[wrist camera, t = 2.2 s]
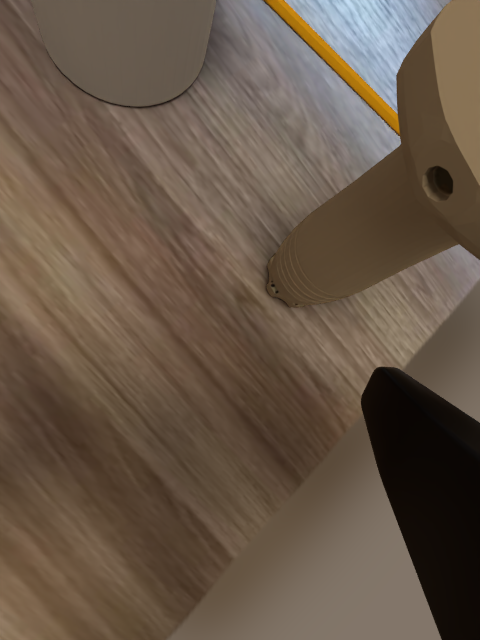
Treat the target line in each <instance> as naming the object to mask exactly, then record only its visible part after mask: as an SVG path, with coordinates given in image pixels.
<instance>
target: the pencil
mask: <svg viewBox="0 0 480 640" xmlns="http://www.w3.org/2000/svg"><path fill="white" fill-rule="evenodd" d="M264 1H265V2H266V3H267V4H268V5H269V6H270V7H271V8H272V9H273V10H274V11H275V12H276V13H277V14H278V15H279V16H280V17H281V18H282V19H283V20H284V21H285V22H286V23H287V24H288V25H289V26H290V27H291V28H292V29H293V30H294V31H295V32H296V33H297V34H298V35H299V36H300V37H301V38H302V39H303V40H304V41H305V42H306V43H307V44H308V45H309V46H310V47H311V48H312V49H313V50H315V51H316V52H317V53H318V54H319V55H320V56H321V57H322V58H323V59H324V60H325V61H326V62H327V63H328V64H329V65H330V66H331V67H332V68H333V69H334V70H335V71H336V72H337V73H338V74H339V75H340V76H341V77H342V78H343V79H344V80H345V81H346V82H347V83H348V84H349V85H350V86H351V87H352V88H353V89H354V90H355V91H356V92H357V93H358V94H359V95H360V96H361V97H362V98H363V99H364V100H365V101H366V102H367V103H368V104H369V105H370V106H371V107H372V108H373V109H374V110H375V111H376V112H377V113H378V114H379V115H380V116H381V117H382V118H383V119H384V120H385V121H386V122H387V123H388V124H389V125H390V126H391V127H392V128H393V129H394V130H395V131H396V132H397V133H398V134H399V135H400V131H399V121H398V114H397V113H396V112H395V111H394V110H393V109H392V108H391V107H390V106H389V105H388V104H387V103H386V102H385V101H384V100H383V99H382V98H381V97H380V96H379V95H378V94H377V93H376V92H375V91H374V90H373V89H372V88H371V87H370V86H369V85H368V84H367V83H366V82H365V81H364V80H363V79H362V78H361V77H360V76H359V75H358V74H357V73H356V72H355V71H354V70H353V69H352V68H351V67H350V66H349V65H348V64H347V63H346V62H345V61H344V60H343V59H342V58H341V57H340V56H339V55H338V54H337V53H336V52H335V51H334V50H333V49H332V48H331V47H330V46H329V45H328V44H327V43H326V42H325V41H324V40H323V39H322V38H321V37H320V36H319V35H318V34H317V33H316V32H315V31H314V30H313V29H312V28H311V27H310V26H309V25H308V24H307V23H306V22H305V21H304V20H303V19H302V18H301V17H300V16H299V15H298V14H297V13H296V12H295V11H294V10H293V9H292V8H291V7H290V6H289V5H288V4H287V3H286V2H285V1H284V0H264Z"/></svg>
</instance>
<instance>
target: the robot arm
mask: <svg viewBox="0 0 480 640" xmlns="http://www.w3.org/2000/svg"><path fill="white" fill-rule="evenodd" d="M361 407H362V411H363V415H364V419H365V422H366V426H367V430H368V433H369V437H370V441H371V445H372V448H373V452H374V456H375V460H376V464H377V467H378V470H379V474H380V477H381V479H382V482H383V485H384V488H385V490H386V493H387V496H388V498H389V501H390V504H391V506H392V509H393V512H394V514H395V517H396V520H397V522H398V525H399V528H400V530H401V533H402V536H403V538H404V541H405V543H406V546H407V549H408V551H409V554H410V557H411V559H412V562H413V565H414V567H415V570H416V573H417V575H418V578H419V581H420V583H421V586H422V589H423V591H424V594H425V597H426V599H427V602H428V604H429V607H430V610H431V612H432V615H433V618H434V620H435V623H436V625H437V628H438V631H439V634H440V636H441V639H442V640H480V423H479V422H478V421H476V420H475V419H473V418H472V417H470V416H469V415H467V414H465V413H464V412H463V411H461V410H460V409H458V408H457V407H455V406H454V405H452V404H451V403H449V402H448V401H446V400H445V399H443V398H442V397H440V396H439V395H437V394H436V393H434V392H433V391H431V390H430V389H428V388H427V387H425V386H424V385H422V384H420V383H419V382H418V381H416V380H415V379H413V378H412V377H410V376H409V375H407V374H405V373H404V372H403V371H401V370H400V369H398V368H394V367H378V368H376V369H375V370H374V372H373V374H372V376H371V378H370V380H369V382H368V384H367V386H366V388H365V390H364V392H363V394H362V398H361Z"/></svg>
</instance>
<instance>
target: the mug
mask: <svg viewBox="0 0 480 640" xmlns="http://www.w3.org/2000/svg"><path fill="white" fill-rule="evenodd" d="M216 1H217V0H31V2H32V6H33V9H34V13H35V16H36V19H37V23H38V26H39V30H40V33H41V36H42V39H43V42H44V44H45V47H46V50H47V51H48V53H49V55H50V57H51V58H52V60H53V62H54V63H55V64H56V65H57V67H58V68H59V69H60V70H61V72H62V73H63V74H64V75H65V76H66V77H68V78H69V79H70V80H71V81H72V82H73V83H74V84H75V85H77V86H78V87H80V88H81V89H83V90H84V91H85V92H87V93H89V94H91V95H93V96H95V97H97V98H99V99H102V100H105V101H107V102H110V103H114V104H119V105H123V106H135V107H140V106H151V105H156V104H160V103H163V102H166V101H168V100H171V99H173V98H175V97H176V96H178V95H180V94H181V93H182V92H184V91H185V90H186V89H187V88H188V87H189V86H190V85H191V84H192V83H193V82H194V80H195V79H196V78H197V76H198V74H199V72H200V70H201V68H202V66H203V62H204V59H205V55H206V50H207V45H208V40H209V35H210V30H211V25H212V21H213V16H214V11H215V6H216Z"/></svg>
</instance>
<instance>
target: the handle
mask: <svg viewBox="0 0 480 640" xmlns="http://www.w3.org/2000/svg"><path fill="white" fill-rule="evenodd" d="M396 76H397V107H398V121H399V131H400V138H401V145H400V146H399V147H398V148H396V149H395V150H394V151H393V152H391V153H390V154H389V155H387V156H386V157H385V158H384V159H382V160H381V161H380V162H378V163H377V164H376V165H375V166H373V167H372V168H371V169H370V170H368V171H367V172H366V173H364V174H363V175H362V176H361V177H359V178H358V179H357V180H355V181H354V182H353V183H351V184H350V185H349V186H347V187H346V188H345V189H343V190H342V191H340V192H339V193H338V194H336V195H335V196H334V197H332V198H331V199H329V200H328V201H327V202H325V203H324V204H323V205H321V206H320V207H319V208H317V209H316V210H314V211H313V212H312V213H311V214H310V215H308V216H307V217H306V218H305V219H304V220H303V221H302V222H301V223H300V224H298V225H297V226H296V227H295V228H294V229H293V231H292V232H291V233H290V234H289V235H288V237H287V238H286V239H285V241H284V242H283V243H282V245H281V246H280V248H279V249H278V251H277V253H275V254H274V255H273V256H272V258H271V259H270V261H269V262H268V265H267V268H268V270H269V282H268V285H267V286H266V287H267V290H268V293H269V294H270V295H271V296H272V297H278V298H280V299H282V300H283V301H285V302H286V303H287V304H288V306H289V307H294V308H298V307H304V306H305V305H314V304H322V303H327V302H332V301H336V300H339V299H342V298H345V297H348V296H351V295H353V294H355V293H358V292H360V291H362V290H364V289H366V288H368V287H370V286H372V285H374V284H376V283H378V282H380V281H382V280H384V279H386V278H388V277H390V276H392V275H394V274H396V273H398V272H400V271H402V270H404V269H406V268H408V267H410V266H412V265H415V264H417V263H419V262H421V261H423V260H425V259H427V258H430V257H432V256H434V255H436V254H438V253H440V252H442V251H445V250H447V249H449V248H451V247H453V246H455V245H458V244H460V245H461V246H462V247H464V248H465V249H466V250H467V251H469V252H470V253H471V254H473V255H474V256H475V257H476V258H478V259H479V260H480V0H452V1H451V2H450V3H448V4H447V5H446V6H445V7H444V8H443V9H442V10H441V12H440V13H439V14H438V15H437V16H436V18H435V19H434V20H433V21H432V22H431V24H430V25H429V26H428V27H427V28H426V30H425V31H424V32H423V33H422V35H421V36H420V37H419V38H418V40H417V41H416V42H415V44H414V45H413V47H412V48H411V50H410V51H409V53H408V54H407V56H406V57H405V59H404V60H403V62H402V64H401V67H400V69H399V71H398V73H397V75H396Z"/></svg>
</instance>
